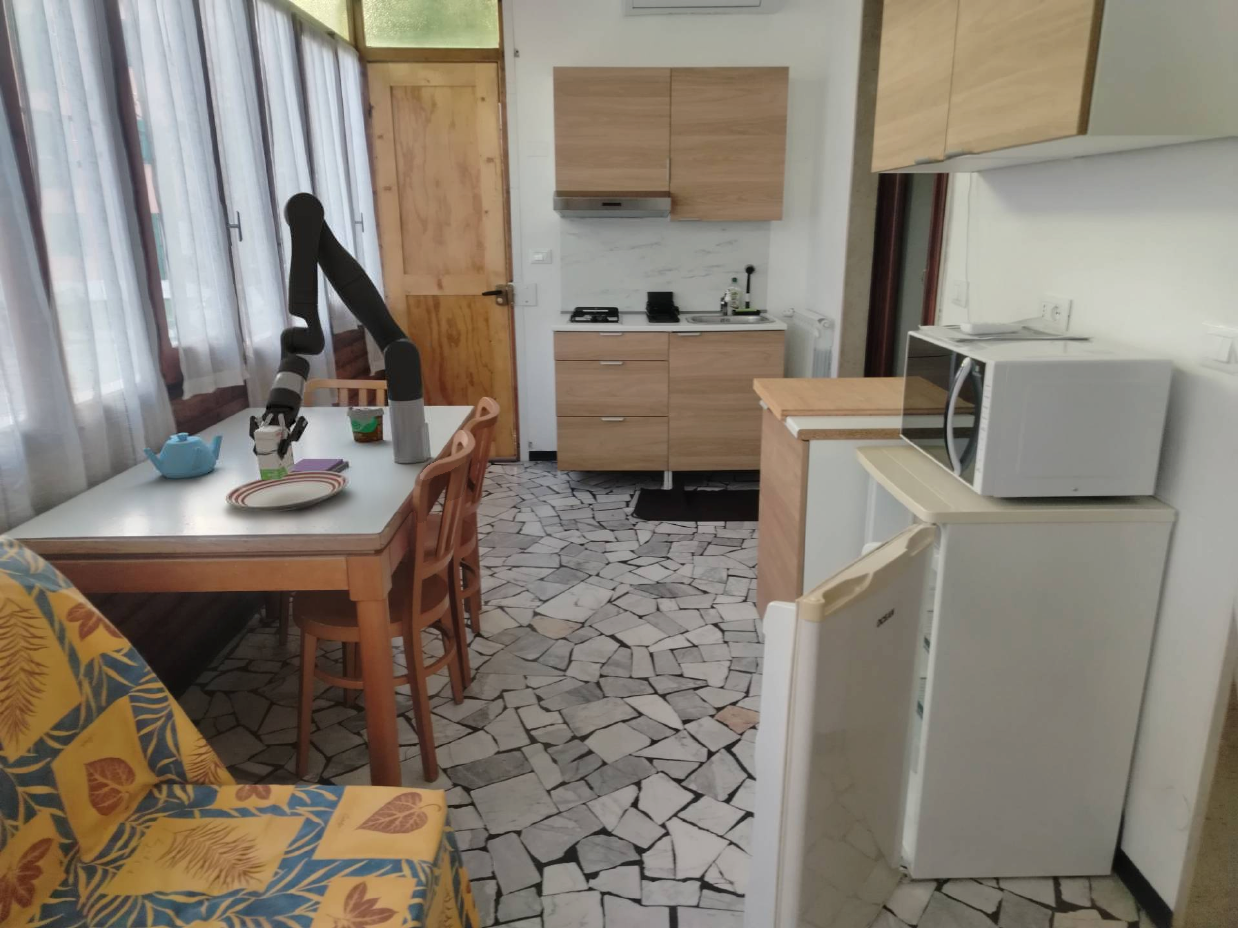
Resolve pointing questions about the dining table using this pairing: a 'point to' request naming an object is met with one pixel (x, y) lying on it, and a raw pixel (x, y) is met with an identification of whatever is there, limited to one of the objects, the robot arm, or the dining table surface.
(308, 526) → the dining table surface
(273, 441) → the ink box
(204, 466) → the teapot
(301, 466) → the ink pad
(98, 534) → the dining table surface
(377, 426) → the food container
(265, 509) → the dinner plate
